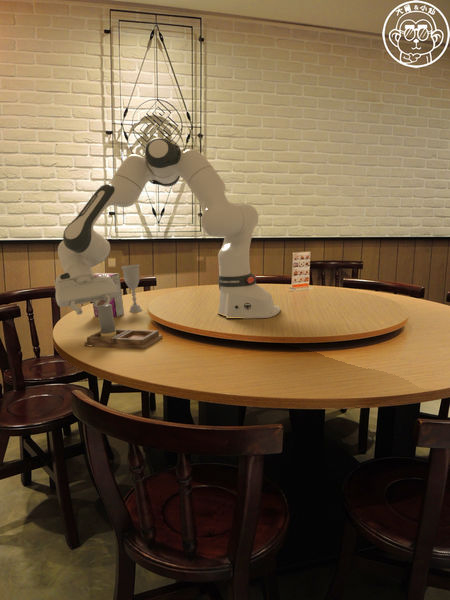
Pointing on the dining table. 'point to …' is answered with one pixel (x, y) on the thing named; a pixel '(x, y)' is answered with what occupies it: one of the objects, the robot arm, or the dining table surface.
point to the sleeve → (106, 320)
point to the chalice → (132, 283)
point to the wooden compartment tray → (125, 339)
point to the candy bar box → (116, 301)
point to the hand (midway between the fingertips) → (94, 310)
